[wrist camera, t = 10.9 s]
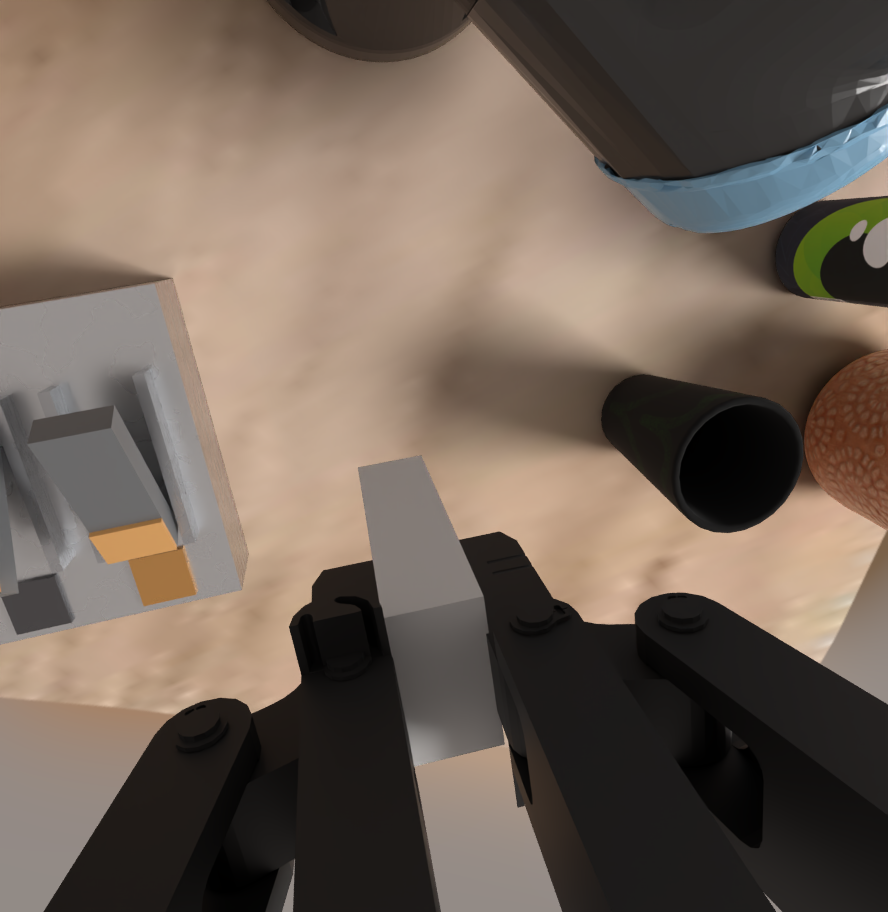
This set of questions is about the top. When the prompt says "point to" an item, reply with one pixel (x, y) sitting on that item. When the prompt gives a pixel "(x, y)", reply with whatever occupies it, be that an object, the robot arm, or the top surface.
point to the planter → (853, 437)
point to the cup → (707, 448)
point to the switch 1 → (6, 545)
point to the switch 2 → (105, 482)
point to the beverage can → (837, 251)
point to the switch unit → (156, 436)
